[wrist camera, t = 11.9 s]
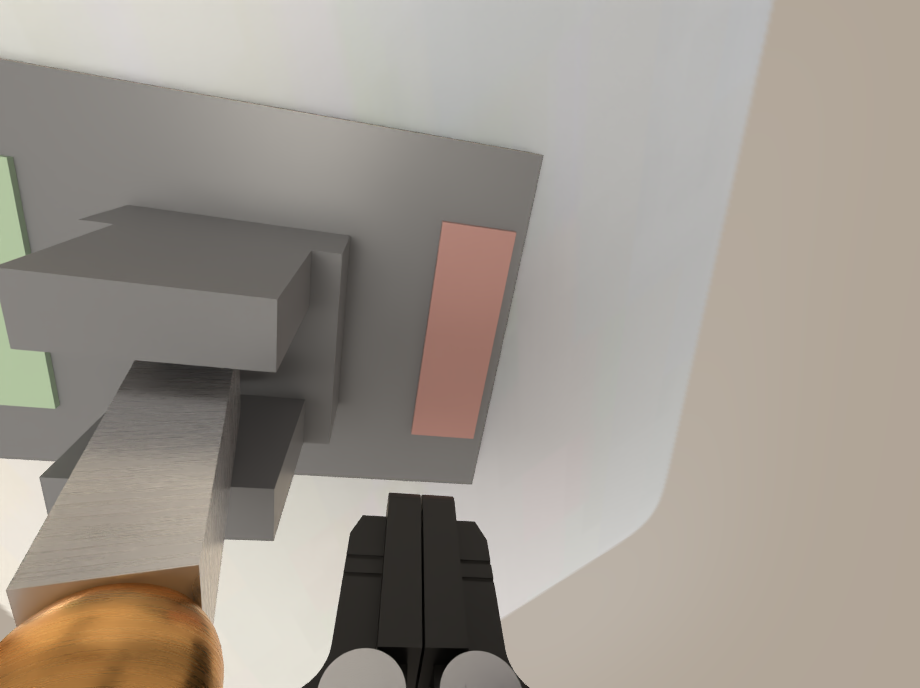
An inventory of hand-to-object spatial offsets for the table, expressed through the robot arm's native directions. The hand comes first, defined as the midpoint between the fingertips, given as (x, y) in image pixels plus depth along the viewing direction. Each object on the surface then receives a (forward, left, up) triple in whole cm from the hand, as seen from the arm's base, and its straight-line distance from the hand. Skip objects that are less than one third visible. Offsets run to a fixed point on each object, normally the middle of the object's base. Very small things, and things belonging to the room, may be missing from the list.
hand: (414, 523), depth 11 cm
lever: (0, -7, -7) cm, 10 cm away
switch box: (0, -7, -13) cm, 15 cm away
